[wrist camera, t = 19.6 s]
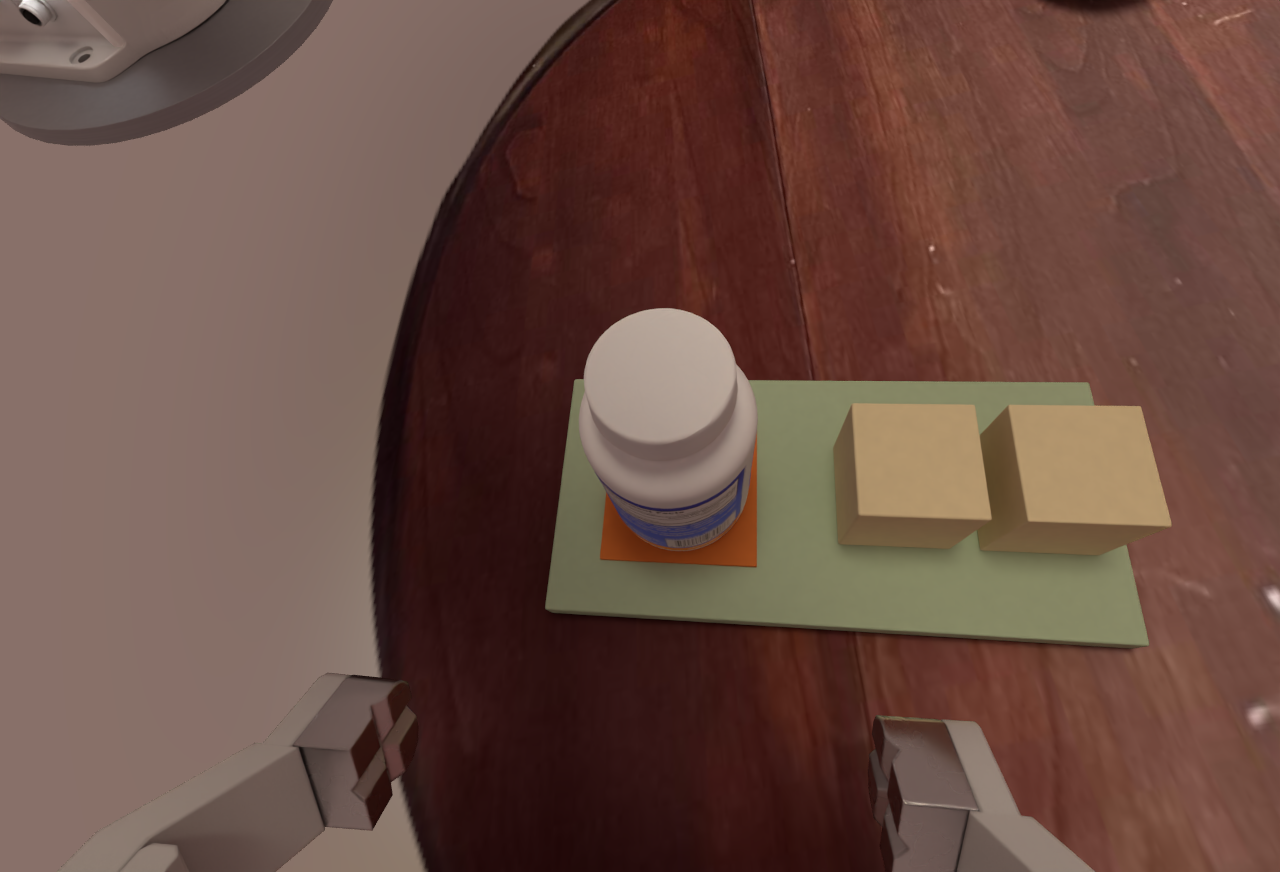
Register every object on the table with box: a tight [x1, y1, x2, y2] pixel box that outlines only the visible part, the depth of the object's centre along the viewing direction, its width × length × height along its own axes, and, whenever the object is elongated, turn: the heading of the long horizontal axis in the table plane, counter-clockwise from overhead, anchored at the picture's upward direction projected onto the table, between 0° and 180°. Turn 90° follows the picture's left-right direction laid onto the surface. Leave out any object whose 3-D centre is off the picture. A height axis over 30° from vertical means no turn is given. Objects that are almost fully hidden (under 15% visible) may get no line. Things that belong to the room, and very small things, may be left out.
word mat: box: [545, 379, 1172, 648], centre depth 23 cm, size 21×10×5 cm, turn 86°
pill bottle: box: [579, 308, 758, 551], centre depth 20 cm, size 5×5×10 cm
